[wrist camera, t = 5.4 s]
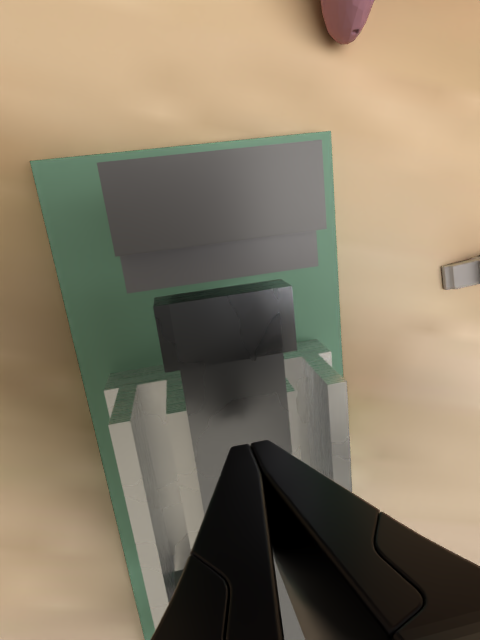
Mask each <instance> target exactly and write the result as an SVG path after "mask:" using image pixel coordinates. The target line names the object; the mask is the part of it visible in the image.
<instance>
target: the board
mask: <svg viewBox="0 0 480 640" xmlns="http://www.w3.org/2000/svg"><path fill="white" fill-rule="evenodd" d="M313 140H322V153H323V171H324V189H325V207H326V224H327V229H322V230H316V234H317V250H318V266H316V267H309V268H302V269H295V270H288V271H281V272H274V273H267V274H260V275H253V276H246V277H239V278H232V279H225V280H218V281H211V282H204V283H197V284H190V285H183V286H176V287H169V288H163V289H156V290H149V291H142V292H135V293H128V294H127V291H126V286H125V281H124V276H123V271H122V265H121V260H120V256H117V257H115V253H114V248H113V243H112V238H111V233H110V228H109V223H108V218H107V213H106V208H105V203H104V198H103V193H102V188H101V183H100V177H99V172H98V167H97V163H98V162H107V161H117V160H127V159H137V158H147V157H156V156H166V155H176V154H186V153H195V152H205V151H215V150H225V149H234V148H244V147H254V146H264V145H274V144H283V143H293V142H303V141H313ZM30 164H31V168H32V172H33V176H34V180H35V184H36V188H37V193H38V197H39V201H40V205H41V209H42V213H43V218H44V222H45V226H46V230H47V234H48V238H49V243H50V247H51V251H52V255H53V259H54V263H55V268H56V272H57V276H58V280H59V284H60V288H61V293H62V297H63V301H64V305H65V309H66V313H67V318H68V322H69V326H70V330H71V334H72V338H73V343H74V347H75V351H76V355H77V359H78V363H79V368H80V372H81V376H82V380H83V384H84V388H85V393H86V397H87V401H88V405H89V409H90V413H91V417H92V422H93V426H94V430H95V434H96V438H97V442H98V447H99V451H100V455H101V459H102V463H103V467H104V472H105V476H106V480H107V484H108V488H109V492H110V497H111V501H112V505H113V509H114V513H115V517H116V522H117V526H118V530H119V534H120V538H121V542H122V547H123V551H124V555H125V559H126V563H127V567H128V572H129V576H130V580H131V584H132V588H133V592H134V597H135V601H136V605H137V609H138V613H139V617H140V622H141V626H142V630H143V634H144V638H145V640H150V639H151V637H152V636H153V634H154V632H155V627H154V623H153V619H152V614H151V610H150V606H149V601H148V597H147V592H146V588H145V584H144V579H143V575H142V571H141V566H140V562H139V557H138V553H137V549H136V544H135V540H134V536H133V531H132V527H131V523H130V518H129V514H128V509H127V505H126V501H125V496H124V492H123V488H122V483H121V479H120V475H119V470H118V466H117V461H116V457H115V453H114V448H113V444H112V440H111V435H110V431H109V426H108V424H109V421H110V416H109V412H108V407H107V403H106V399H105V394H104V388H105V386H106V383H107V380H108V378H109V375H110V374H111V373H117V372H123V371H129V370H135V369H141V368H147V367H153V366H159V365H163V359H162V354H161V348H160V343H159V337H158V332H157V326H156V320H155V315H154V309H153V304H154V298H155V297H160V296H167V295H174V294H181V293H187V292H194V291H201V290H208V289H215V288H222V287H229V286H235V285H242V284H249V283H256V282H263V281H270V280H276V279H282V280H284V281H285V282H287V283H288V284H290V285H291V286H292V290H293V302H294V315H295V328H296V341H297V342H302V341H308V340H314V339H317V340H319V341H320V342H321V343H322V344H323V345H324V346H326V347H327V348H328V349H329V350H330V351H331V355H332V368H333V369H334V370H335V371H336V372H338V373H339V374H340V375H341V376H342V377H343V365H342V345H341V325H340V305H339V285H338V265H337V245H336V225H335V205H334V185H333V164H332V144H331V131H326V132H316V133H306V134H296V135H286V136H276V137H266V138H256V139H246V140H236V141H226V142H216V143H206V144H196V145H186V146H176V147H166V148H156V149H145V150H135V151H125V152H115V153H105V154H95V155H85V156H75V157H65V158H55V159H45V160H35V161H30Z"/></svg>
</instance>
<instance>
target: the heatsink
mask: <svg viewBox="0 0 480 640" xmlns="http://www.w3.org/2000/svg"><path fill="white" fill-rule="evenodd" d="M283 355H284V366H285V377H286V388H287V400H288V411H289V422H290V433H291V444H292V455H293V456H295V457H296V458H298V459H300V460H301V461H303V462H304V463H306V464H308V465H309V466H311V467H312V468H314V469H315V470H317V471H319V472H320V473H322V474H323V475H325V476H327V477H328V478H330V479H331V480H333V481H334V482H336V483H338V484H339V485H341V486H342V487H344V488H346V489H347V490H349V491H350V492H352V480H351V459H350V437H349V416H348V395H347V381H346V380H345V379H344V378H343V377H342V376H341V375H340V374H339V373H338V372H336V371H335V370H334V369H333V368H332V355H331V351H330V350H329V349H328V348H327V347H326V346H324V345H323V344H322V343H321V342H320V341H319V340H317V339H314V340H308V341H302V342H297V351H291V352H285V353H283ZM104 394H105V399H106V403H107V407H108V412H109V416H110V421H109V424H108V426H109V431H110V435H111V440H112V444H113V448H114V453H115V457H116V461H117V466H118V470H119V475H120V479H121V483H122V488H123V492H124V496H125V501H126V505H127V509H128V514H129V518H130V523H131V527H132V531H133V536H134V540H135V544H136V549H137V553H138V557H139V562H140V566H141V571H142V575H143V579H144V584H145V588H146V592H147V597H148V601H149V606H150V610H151V614H152V619H153V623H154V627H155V630H156V628H157V626H158V624H159V622H160V620H161V618H162V616H163V614H164V612H165V610H166V608H167V606H168V604H169V602H170V600H171V598H172V596H173V594H174V591H175V574H174V571H178V570H182V569H184V567H185V565H186V562H187V559H188V557H189V556H190V552H191V549H192V547H193V544H194V542H195V539H196V536H197V534H198V531H199V529H200V526H201V523H202V521H203V518H204V510H203V504H202V498H201V492H200V486H199V481H198V475H197V469H196V463H195V457H194V451H193V445H192V439H191V433H190V427H189V421H188V415H187V409H186V403H185V397H184V391H183V385H182V379H181V374H180V370H179V371H173V372H167V373H165V370H164V365H159V366H153V367H147V368H141V369H135V370H129V371H123V372H117V373H111V374H110V375H109V378H108V380H107V383H106V386H105V388H104Z"/></svg>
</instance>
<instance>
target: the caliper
mask: <svg viewBox="0 0 480 640" xmlns="http://www.w3.org/2000/svg"><path fill="white" fill-rule="evenodd" d="M442 276H443V286H444V289H445V290H448V289H458V288H463V287H467V286H472V285H476V284H480V255H479V256H476V257H472V258H471V259H470V260H466V261H461V262H457V263H452V264H449V265H445V266H442Z"/></svg>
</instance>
